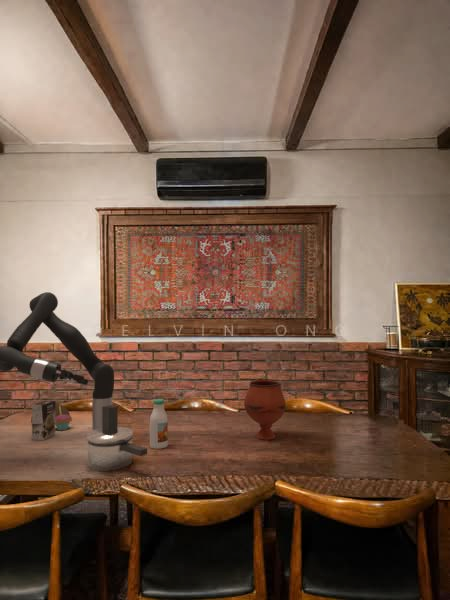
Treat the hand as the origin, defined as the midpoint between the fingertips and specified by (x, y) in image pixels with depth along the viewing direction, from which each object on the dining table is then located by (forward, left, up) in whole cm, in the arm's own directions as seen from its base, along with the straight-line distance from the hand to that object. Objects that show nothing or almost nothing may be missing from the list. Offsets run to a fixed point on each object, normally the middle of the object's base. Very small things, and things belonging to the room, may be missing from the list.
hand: (85, 381), depth 167 cm
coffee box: (-5, -41, -31) cm, 52 cm away
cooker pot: (-3, +17, -30) cm, 35 cm away
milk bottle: (-28, +12, -31) cm, 43 cm away
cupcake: (-18, -47, -31) cm, 59 cm away
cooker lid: (-3, +12, -20) cm, 24 cm away
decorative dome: (-23, -68, -31) cm, 78 cm away
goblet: (-67, +41, -31) cm, 84 cm away
